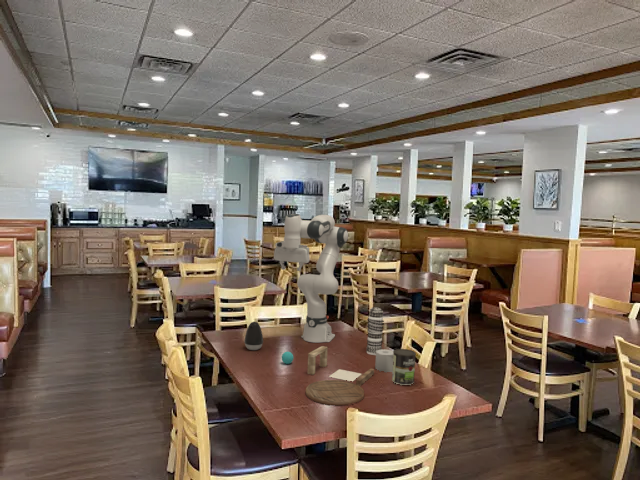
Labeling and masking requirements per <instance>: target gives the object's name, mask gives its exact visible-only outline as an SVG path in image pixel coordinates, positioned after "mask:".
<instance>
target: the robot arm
mask: <svg viewBox="0 0 640 480" xmlns="http://www.w3.org/2000/svg"><path fill="white" fill-rule="evenodd" d="M335 222H336V221H335V219H334V217H333V216H332V215H329V214H319V215H315V216H314V217H312V219H311V220H306V219H305V220H303V219H302V218H301V215H300V214H298V213H289V214H287V215H286V216H285V219H284V225H283V226H284V228H283V229H284V230H283V231H284V237H283V240H282V241H278V242H276V243H275V248H274V251H273V259H274V261H279V264H280V267H281V270H283V271H284V270H286V268H287V267H286V265H285V262H289V263H298V265H299V266H298V267H296V272H301V271H302V267H303V266H304V264H308V263H309V262H310V261H311V260H310V248H309V246H308V245H306V244H305V245H303V244H301V241H302V240H301V238H303V239H312V240H315V242H316V243H318V244H325V246H324V248H323V249H322V251H320V252H321V253H320V255H319V257H318V259H317V262H316V264H315V267H316V270H317V272H318V273H319V274H312V273H306V274H300V276H299V277H298V278H297V283H296V284H297V287H298V290H299V291H300V292H302V294H303V295H304V298H305V300H306V310H307V311H306V313H307V315H306V316H305V321H306V322H305V323H304V325H303V333H302V334H301V338H302V339H303V341H305V342H309V343H329V342H330V343H331V341H332V340H333V339H334V338H335V337H336V334H335V333H332V326H331V325H330V324H329V323H328V319H329V315H327V314H326V312H327V311H326V310H327V303H326V302H325V301H324V300H323V299H322V298H321V297H320V295H326V296H328V295H335V294H336V293H337V292H338V290H339V281H338V279H337V278H336V277H335V275H334V270H335V267H336V266H337V265H336V264H337V262H338V258H339V256H340V248H342V247H344V245H345V244H346V243H347V242H348V239H349V231H348V230H347V228H345V227H342V226H340V227H339V226H335V225H336V223H335Z"/></svg>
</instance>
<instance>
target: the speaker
mask: <svg viewBox="0 0 640 480" xmlns="http://www.w3.org/2000/svg"><path fill="white" fill-rule="evenodd" d="M243 342H244V345H245V348H247V350H250V351H258V350H260V349H261V348H262V346H263V343H264V337H263V332H262V328H261V325H260V324H259V322H257V321H251V322H250V323H249V325H248V326H247V329H246V332H245V335H244V341H243Z"/></svg>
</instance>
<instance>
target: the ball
mask: <svg viewBox="0 0 640 480" xmlns="http://www.w3.org/2000/svg"><path fill="white" fill-rule="evenodd" d="M281 361H282V362H283V363H284V364H286V365H290V364H291V363H292V362H293V361H294V355H293V352H291V351H285V352H283V353H282V355H281Z"/></svg>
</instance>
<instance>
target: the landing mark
mask: <svg viewBox="0 0 640 480" xmlns="http://www.w3.org/2000/svg"><path fill="white" fill-rule="evenodd" d="M362 375H363V373H360V372H355V371H351V370H350V371H349V370H345V369H340V368H339V369H337V370H336V371H335V372H333V373H332V374H330V375H329V376H328V378H331V377H332V378H333V379H335V380H340V381H346V380H347V381H346V382H350V381H352V382H351V383H353V382H354V381H356V380H357V379H358V378H359V377H360V376H362ZM356 378H357V379H356Z"/></svg>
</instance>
